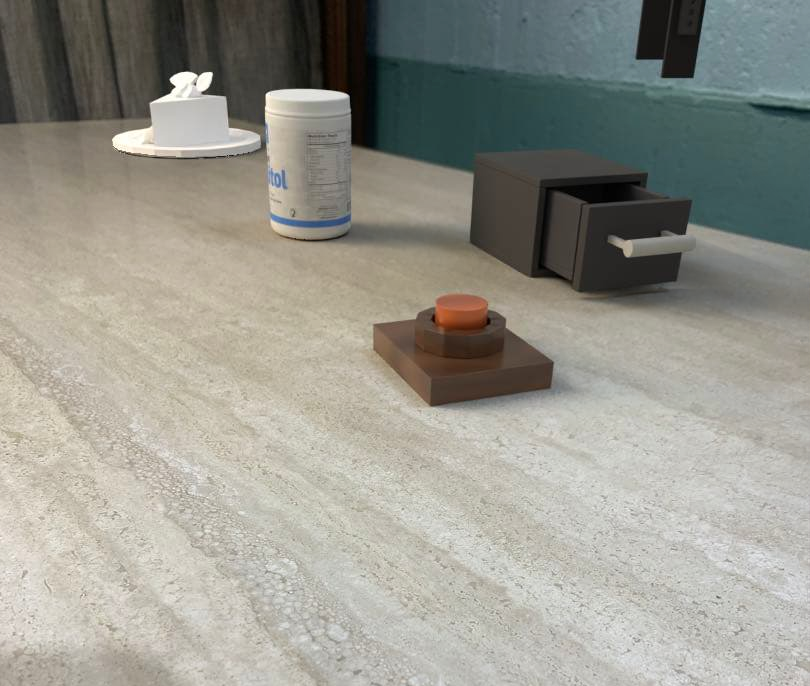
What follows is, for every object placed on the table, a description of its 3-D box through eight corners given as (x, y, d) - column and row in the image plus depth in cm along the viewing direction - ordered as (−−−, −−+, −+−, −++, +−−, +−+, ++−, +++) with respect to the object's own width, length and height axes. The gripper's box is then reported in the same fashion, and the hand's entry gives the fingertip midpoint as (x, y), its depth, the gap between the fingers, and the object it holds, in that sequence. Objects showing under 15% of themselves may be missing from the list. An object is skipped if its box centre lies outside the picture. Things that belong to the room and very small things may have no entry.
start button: (495, 329, 66) (497, 307, 65) (447, 335, 65) (448, 313, 64) (472, 313, 69) (474, 291, 68) (426, 318, 68) (427, 296, 67)
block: (551, 389, 66) (557, 338, 64) (430, 407, 62) (432, 354, 60) (481, 335, 75) (484, 290, 73) (372, 349, 72) (373, 302, 70)
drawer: (704, 294, 83) (722, 209, 79) (603, 307, 79) (616, 218, 75) (602, 246, 97) (613, 172, 92) (512, 255, 93) (518, 178, 89)
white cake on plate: (171, 130, 163) (163, 62, 157) (287, 141, 155) (283, 70, 149) (82, 149, 144) (69, 73, 138) (209, 164, 136) (201, 83, 130)
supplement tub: (256, 228, 104) (247, 91, 96) (323, 217, 109) (319, 86, 101) (298, 246, 98) (292, 101, 89) (367, 234, 102) (367, 96, 94)
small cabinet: (633, 267, 93) (648, 172, 88) (530, 278, 89) (540, 179, 84) (563, 234, 105) (573, 148, 99) (469, 242, 101) (474, 153, 95)
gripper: (632, -210, 80) (604, 53, 92) (691, -260, 59) (644, 87, 71) (715, -212, 79) (675, 53, 92) (803, -262, 59) (737, 87, 71)
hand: (662, 68), depth 82 cm, fingers open, 13 cm apart
